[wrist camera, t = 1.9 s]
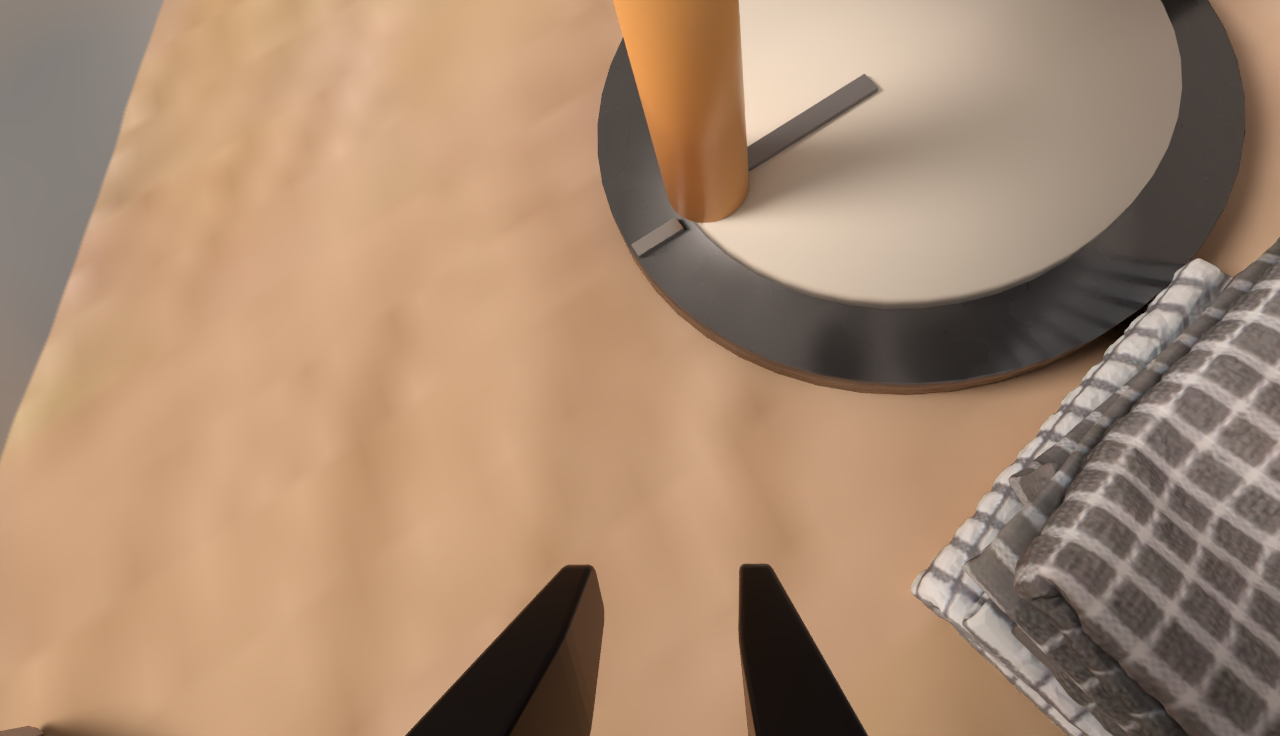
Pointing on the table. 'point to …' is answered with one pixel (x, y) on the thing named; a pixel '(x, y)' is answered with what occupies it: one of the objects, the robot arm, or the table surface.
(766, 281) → the dial plate
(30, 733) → the caliper
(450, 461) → the table surface
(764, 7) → the dial
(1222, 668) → the towel
